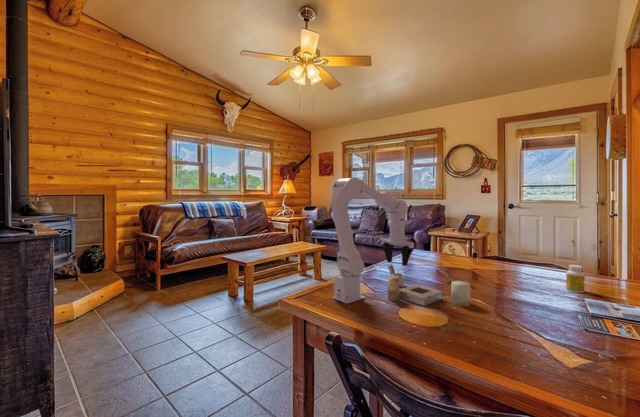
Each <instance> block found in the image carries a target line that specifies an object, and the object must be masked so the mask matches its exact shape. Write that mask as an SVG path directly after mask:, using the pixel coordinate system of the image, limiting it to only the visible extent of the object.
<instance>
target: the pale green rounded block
mask: <svg viewBox="0 0 640 417" xmlns="http://www.w3.org/2000/svg"><path fill="white" fill-rule="evenodd" d="M450 284H451V287H450V288H451V289H450V294H451V296H450V298H451V299H450V303H451V304H452V305H455V306H459V307H468V306H471V283H470V282H468V281H463V280H452V281H451V283H450Z"/></svg>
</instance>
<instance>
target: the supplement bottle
mask: <svg viewBox="0 0 640 417" xmlns="http://www.w3.org/2000/svg"><path fill="white" fill-rule="evenodd" d="M565 276H566V277H565V278H566V280H565V290H566V291H568V292H572V293H576V294H577V293H580V294H581V293H584V292H585V277H586V276H585V272H583V266H582V265H577V264H569V265H568V270H567V271H566V275H565Z"/></svg>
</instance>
